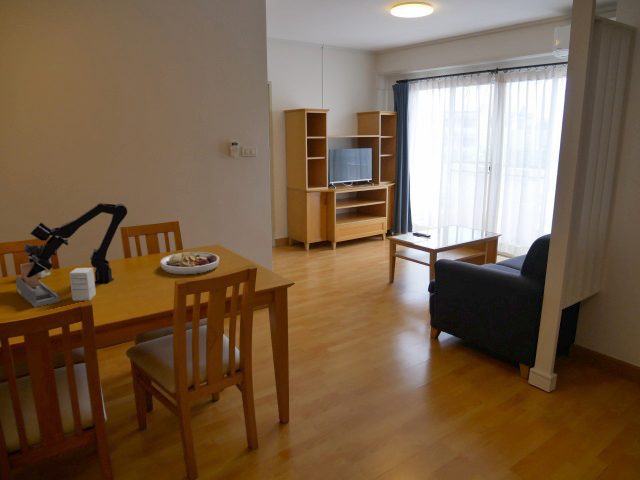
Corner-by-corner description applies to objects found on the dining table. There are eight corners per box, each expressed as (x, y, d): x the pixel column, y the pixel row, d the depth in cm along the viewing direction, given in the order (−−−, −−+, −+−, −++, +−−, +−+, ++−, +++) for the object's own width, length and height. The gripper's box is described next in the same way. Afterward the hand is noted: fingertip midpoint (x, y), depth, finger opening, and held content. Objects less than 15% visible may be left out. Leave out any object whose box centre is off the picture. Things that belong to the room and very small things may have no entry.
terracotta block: (23, 285, 206) (20, 264, 204) (35, 283, 210) (32, 262, 207) (26, 288, 203) (23, 266, 200) (39, 285, 206) (36, 264, 204)
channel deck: (17, 291, 207) (15, 276, 205) (41, 286, 213) (39, 272, 212) (34, 307, 189) (32, 291, 187) (60, 301, 196) (58, 286, 194)
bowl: (150, 275, 233) (149, 260, 232) (175, 259, 262) (174, 245, 261) (207, 278, 230) (207, 263, 228) (226, 261, 259) (226, 248, 257)
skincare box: (41, 278, 225) (38, 254, 222) (33, 277, 226) (30, 253, 223) (51, 274, 231) (48, 250, 228) (43, 273, 232) (40, 250, 229)
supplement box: (79, 294, 204) (76, 267, 201) (96, 294, 205) (93, 267, 202) (71, 300, 197) (68, 272, 194) (89, 300, 197) (86, 272, 194)
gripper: (29, 233, 210) (4, 261, 205) (40, 241, 197) (14, 270, 192) (50, 247, 217) (27, 274, 212) (62, 255, 204) (38, 284, 199)
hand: (26, 275), depth 204 cm, fingers closed on terracotta block, 5 cm apart
